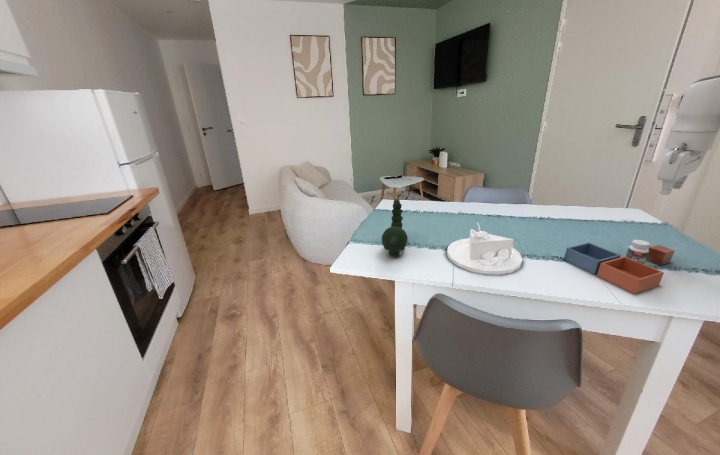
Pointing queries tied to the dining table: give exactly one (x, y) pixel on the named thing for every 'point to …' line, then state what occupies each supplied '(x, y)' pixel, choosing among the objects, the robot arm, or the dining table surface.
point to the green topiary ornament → (395, 232)
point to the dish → (485, 253)
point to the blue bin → (589, 256)
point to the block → (659, 254)
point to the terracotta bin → (630, 274)
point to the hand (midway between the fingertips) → (670, 191)
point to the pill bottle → (638, 251)
